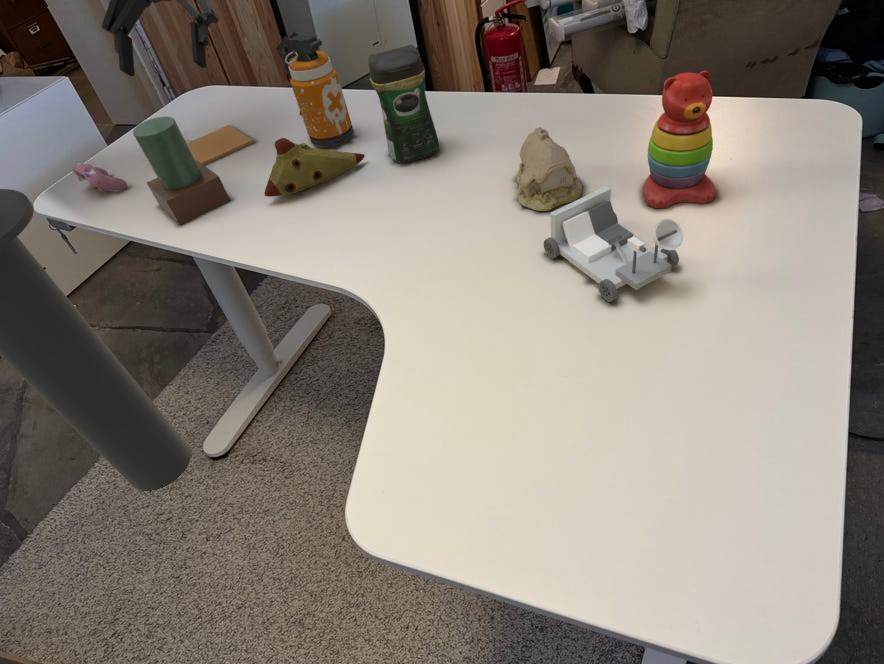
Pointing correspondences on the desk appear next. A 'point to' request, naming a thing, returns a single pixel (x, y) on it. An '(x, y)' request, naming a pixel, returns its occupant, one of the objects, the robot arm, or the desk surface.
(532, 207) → the ceramic model
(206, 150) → the cork mat
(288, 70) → the canister
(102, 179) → the pink animal figurine
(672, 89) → the stacking bear
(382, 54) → the coffee jar
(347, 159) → the ocarina
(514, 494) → the desk surface
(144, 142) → the green cylinder
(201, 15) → the robot arm
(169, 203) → the riser
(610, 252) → the toy car
